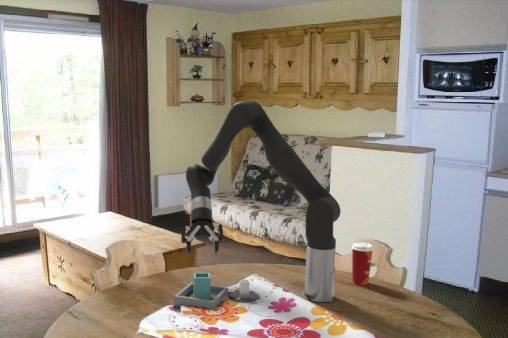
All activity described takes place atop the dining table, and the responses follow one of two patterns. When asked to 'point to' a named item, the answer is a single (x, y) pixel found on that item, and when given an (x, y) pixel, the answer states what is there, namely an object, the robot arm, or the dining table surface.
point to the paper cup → (361, 262)
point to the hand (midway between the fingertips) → (202, 252)
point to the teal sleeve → (201, 286)
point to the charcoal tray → (181, 298)
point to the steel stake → (243, 293)
